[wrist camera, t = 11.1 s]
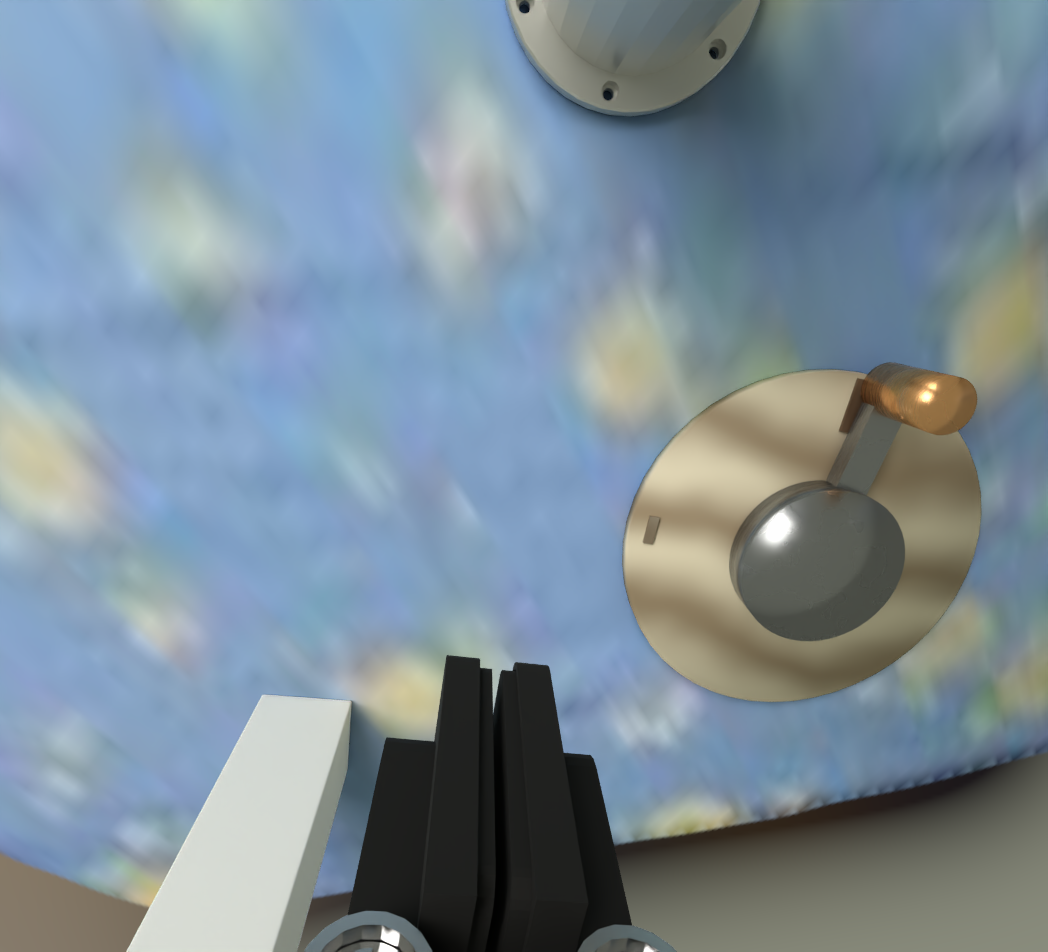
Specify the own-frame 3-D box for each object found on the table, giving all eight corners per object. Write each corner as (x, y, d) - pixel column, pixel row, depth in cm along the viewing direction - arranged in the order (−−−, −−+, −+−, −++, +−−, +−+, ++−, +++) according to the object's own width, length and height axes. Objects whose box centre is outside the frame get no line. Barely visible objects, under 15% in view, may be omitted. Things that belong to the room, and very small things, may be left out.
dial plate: (672, 337, 35) (679, 339, 34) (1028, 403, 38) (1045, 407, 37) (588, 672, 42) (591, 683, 41) (893, 709, 45) (903, 720, 43)
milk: (348, 768, 44) (224, 1227, 23) (260, 763, 43) (50, 1231, 22) (352, 697, 42) (220, 1129, 21) (260, 691, 41) (30, 1129, 20)
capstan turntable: (842, 638, 41) (889, 686, 36) (705, 605, 39) (735, 650, 35) (972, 387, 36) (1046, 404, 31) (820, 338, 34) (874, 349, 29)
